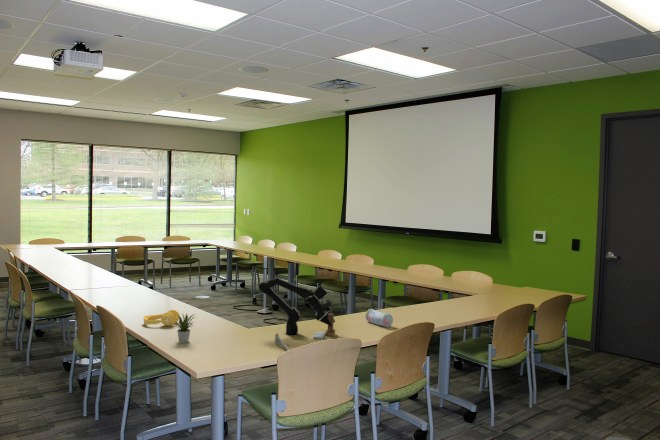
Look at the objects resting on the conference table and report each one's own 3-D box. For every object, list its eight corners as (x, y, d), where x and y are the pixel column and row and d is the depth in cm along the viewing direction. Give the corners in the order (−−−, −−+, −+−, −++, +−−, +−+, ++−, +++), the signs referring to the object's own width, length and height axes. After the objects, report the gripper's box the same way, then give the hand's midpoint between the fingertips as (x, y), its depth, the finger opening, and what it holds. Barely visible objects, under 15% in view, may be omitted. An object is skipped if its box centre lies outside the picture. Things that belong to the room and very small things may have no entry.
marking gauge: (325, 336, 311) (325, 314, 310) (326, 334, 317) (327, 312, 316) (333, 336, 310) (334, 315, 310) (335, 334, 316) (335, 313, 315)
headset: (149, 320, 342) (150, 306, 342) (181, 322, 342) (181, 308, 341) (138, 327, 325) (139, 312, 324) (172, 328, 324) (172, 314, 324)
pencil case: (364, 322, 352) (364, 308, 351) (374, 320, 356) (375, 307, 356) (383, 328, 334) (383, 314, 333) (393, 327, 338) (394, 312, 338)
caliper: (274, 344, 292) (274, 333, 292) (276, 343, 293) (276, 332, 293) (289, 353, 274) (289, 341, 274) (291, 353, 275) (291, 341, 275)
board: (313, 338, 304) (313, 336, 304) (315, 333, 317) (315, 331, 317) (323, 339, 304) (323, 337, 304) (325, 333, 317) (325, 331, 316)
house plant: (203, 339, 298) (203, 310, 298) (191, 345, 285) (192, 315, 284) (180, 337, 302) (181, 309, 301) (168, 343, 288) (168, 314, 288)
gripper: (321, 298, 305) (339, 318, 303) (328, 293, 323) (345, 312, 321) (308, 310, 307) (326, 330, 305) (316, 305, 325) (332, 323, 323)
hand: (333, 323), depth 313 cm, fingers open, 9 cm apart
